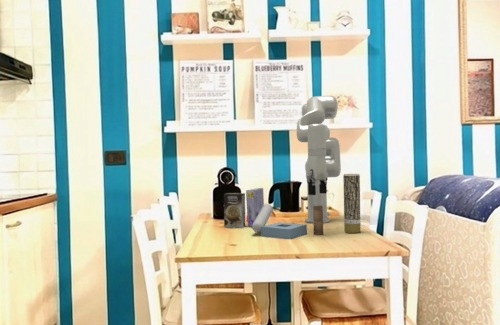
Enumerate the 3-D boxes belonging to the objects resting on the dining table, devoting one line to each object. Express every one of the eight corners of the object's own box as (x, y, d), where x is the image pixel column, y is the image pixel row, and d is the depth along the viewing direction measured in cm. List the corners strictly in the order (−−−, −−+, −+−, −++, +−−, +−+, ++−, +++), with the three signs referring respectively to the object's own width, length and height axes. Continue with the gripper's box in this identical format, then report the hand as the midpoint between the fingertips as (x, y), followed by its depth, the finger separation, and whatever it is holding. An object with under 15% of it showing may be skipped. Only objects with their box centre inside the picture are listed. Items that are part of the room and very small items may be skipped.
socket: (279, 231, 204) (279, 222, 204) (306, 233, 196) (306, 224, 196) (261, 236, 193) (260, 226, 193) (289, 239, 185) (289, 229, 185)
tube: (265, 226, 192) (275, 207, 215) (253, 220, 192) (265, 201, 216) (259, 236, 193) (269, 216, 217) (248, 230, 194) (260, 210, 217)
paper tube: (347, 230, 202) (346, 173, 202) (362, 231, 199) (361, 173, 199) (342, 233, 197) (341, 174, 196) (357, 234, 193) (356, 174, 193)
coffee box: (223, 227, 217) (223, 193, 217) (227, 225, 224) (226, 192, 223) (242, 228, 215) (241, 193, 215) (245, 226, 221) (245, 192, 221)
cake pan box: (256, 221, 237) (255, 187, 236) (265, 221, 235) (265, 187, 235) (246, 227, 218) (245, 190, 218) (256, 227, 217) (255, 190, 216)
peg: (316, 233, 197) (315, 205, 197) (324, 234, 194) (324, 205, 194) (311, 234, 194) (311, 206, 193) (320, 235, 191) (319, 206, 191)
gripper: (318, 153, 203) (319, 192, 203) (298, 153, 189) (299, 195, 189) (334, 153, 198) (335, 193, 198) (315, 153, 184) (315, 195, 184)
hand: (317, 194), depth 193 cm, fingers open, 9 cm apart
